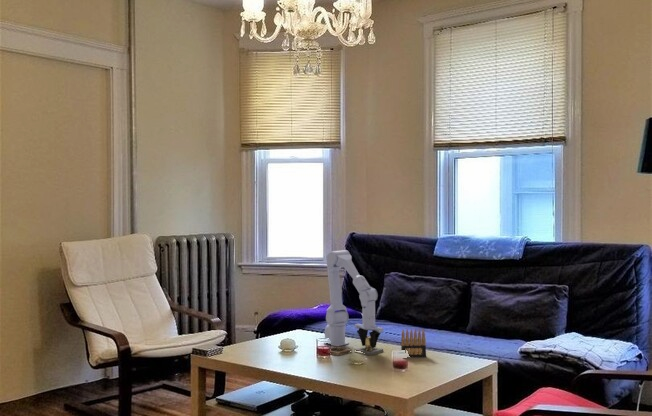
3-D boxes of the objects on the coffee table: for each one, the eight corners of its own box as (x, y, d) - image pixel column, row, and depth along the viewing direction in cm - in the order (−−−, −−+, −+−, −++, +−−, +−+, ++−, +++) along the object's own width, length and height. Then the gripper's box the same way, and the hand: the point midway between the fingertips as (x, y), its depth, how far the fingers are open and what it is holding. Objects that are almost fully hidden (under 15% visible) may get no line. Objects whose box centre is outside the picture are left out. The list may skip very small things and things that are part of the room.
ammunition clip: (425, 356, 283) (425, 328, 283) (426, 357, 281) (426, 329, 281) (400, 356, 283) (400, 328, 282) (401, 357, 281) (401, 329, 281)
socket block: (354, 352, 291) (354, 349, 291) (367, 348, 298) (367, 346, 298) (370, 355, 285) (370, 352, 285) (383, 351, 292) (383, 349, 292)
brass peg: (363, 352, 291) (363, 337, 291) (368, 350, 294) (368, 336, 294) (369, 353, 289) (369, 338, 289) (374, 351, 291) (373, 337, 291)
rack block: (322, 352, 291) (322, 349, 291) (336, 349, 298) (336, 346, 298) (337, 355, 285) (337, 353, 285) (351, 352, 291) (351, 349, 291)
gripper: (350, 315, 293) (350, 345, 294) (375, 319, 283) (375, 350, 283) (360, 313, 298) (361, 342, 299) (385, 317, 288) (386, 347, 289)
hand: (368, 346), depth 291 cm, fingers open, 5 cm apart
